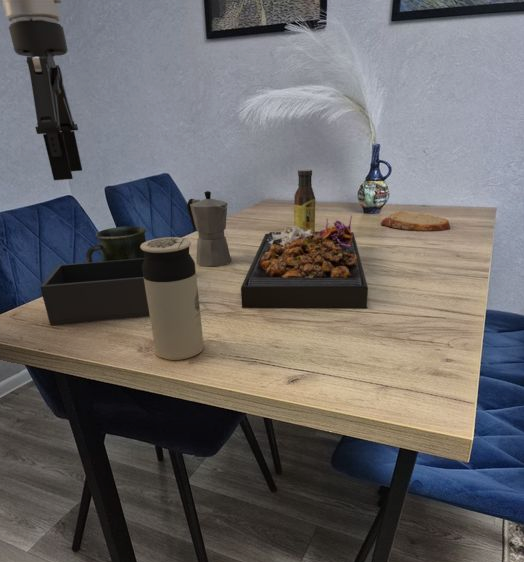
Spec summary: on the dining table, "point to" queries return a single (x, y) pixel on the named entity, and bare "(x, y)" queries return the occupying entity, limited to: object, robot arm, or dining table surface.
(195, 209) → the coffeepot
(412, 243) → the dining table surface
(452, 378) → the dining table surface
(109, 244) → the mug
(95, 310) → the bin
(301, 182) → the sauce bottle
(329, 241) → the food platter
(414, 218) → the bread slice
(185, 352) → the travel mug
